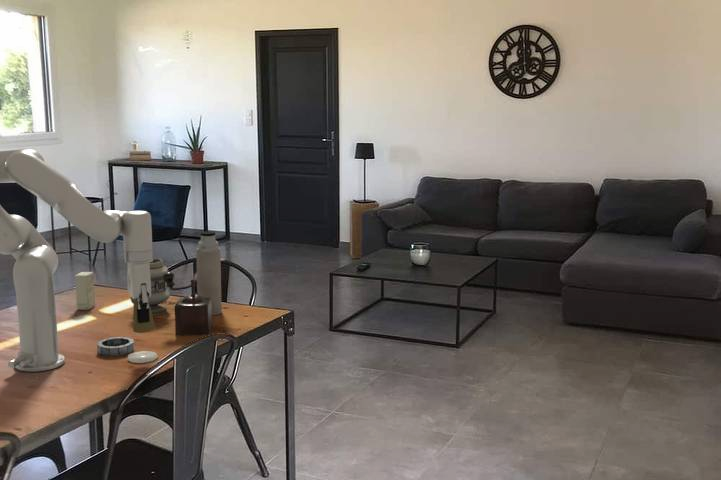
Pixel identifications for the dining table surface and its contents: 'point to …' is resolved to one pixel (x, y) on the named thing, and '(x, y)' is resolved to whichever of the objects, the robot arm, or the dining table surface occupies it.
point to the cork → (142, 326)
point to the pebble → (142, 357)
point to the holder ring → (115, 346)
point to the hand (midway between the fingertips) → (141, 319)
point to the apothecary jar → (158, 286)
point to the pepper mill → (190, 310)
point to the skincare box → (85, 290)
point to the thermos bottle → (209, 270)
